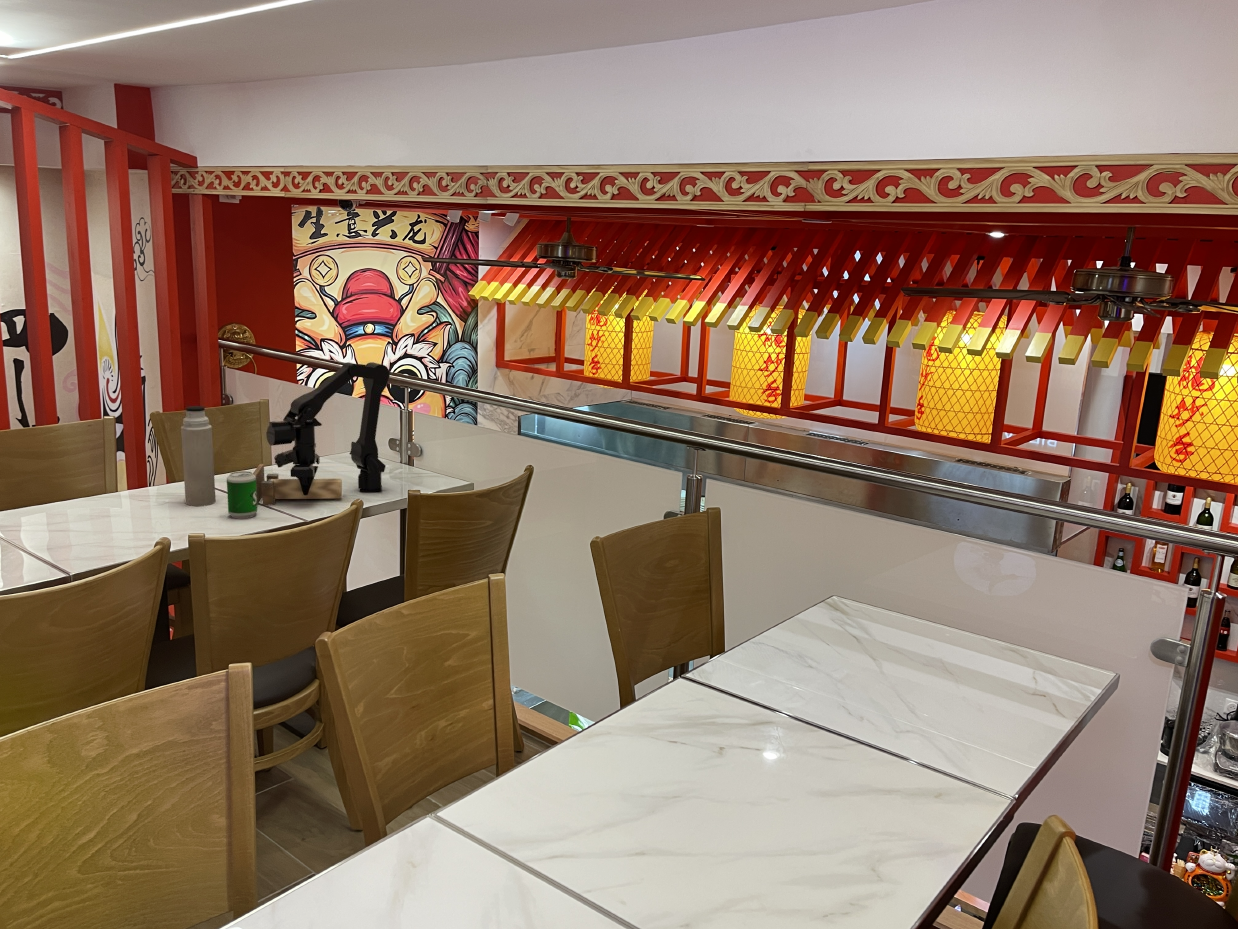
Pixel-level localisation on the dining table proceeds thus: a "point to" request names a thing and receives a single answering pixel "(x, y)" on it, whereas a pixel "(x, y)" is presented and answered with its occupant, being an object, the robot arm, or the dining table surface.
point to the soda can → (242, 494)
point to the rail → (317, 490)
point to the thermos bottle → (198, 458)
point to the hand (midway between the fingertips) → (306, 493)
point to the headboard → (265, 486)
